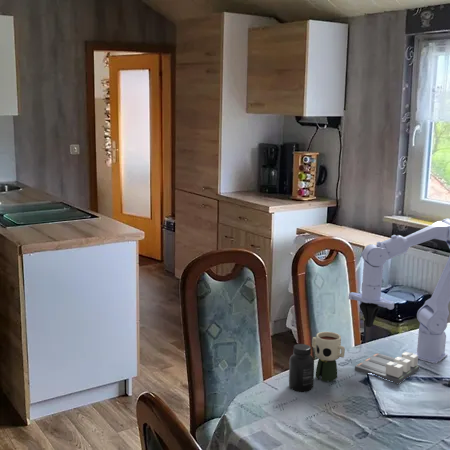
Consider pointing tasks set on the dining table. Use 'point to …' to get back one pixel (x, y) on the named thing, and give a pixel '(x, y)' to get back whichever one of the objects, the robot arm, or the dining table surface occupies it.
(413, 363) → the block
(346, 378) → the dining table surface
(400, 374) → the block
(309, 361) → the supplement bottle
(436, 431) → the dining table surface
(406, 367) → the block
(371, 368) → the panel
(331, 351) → the character mug
